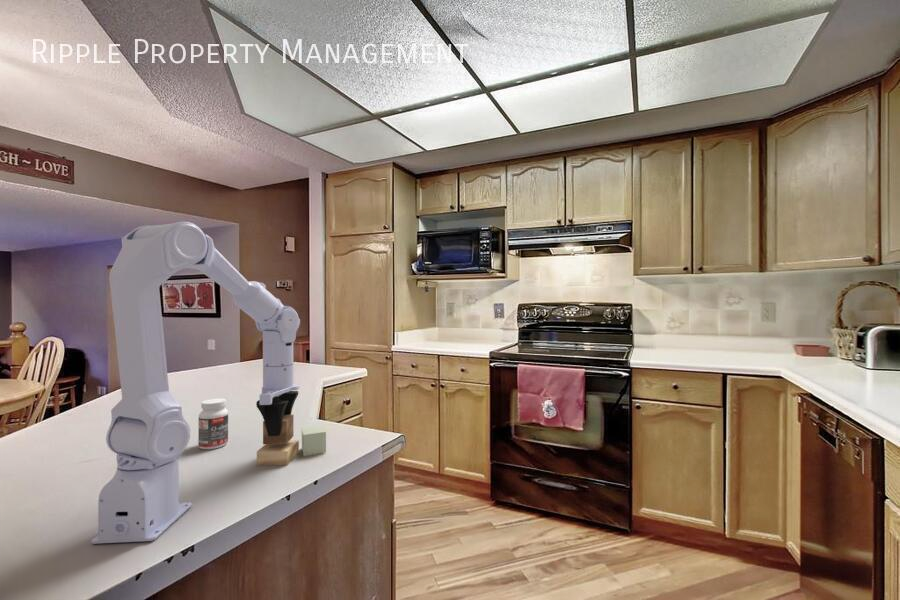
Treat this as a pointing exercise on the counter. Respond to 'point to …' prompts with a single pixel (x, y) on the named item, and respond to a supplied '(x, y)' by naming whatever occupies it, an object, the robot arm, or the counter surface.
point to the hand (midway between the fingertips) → (278, 431)
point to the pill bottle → (213, 424)
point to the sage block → (313, 440)
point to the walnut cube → (285, 432)
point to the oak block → (277, 453)
